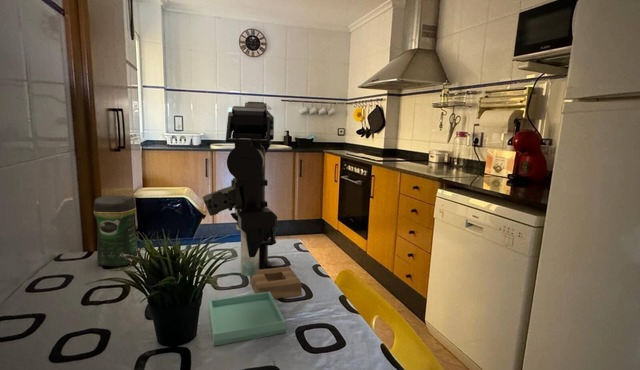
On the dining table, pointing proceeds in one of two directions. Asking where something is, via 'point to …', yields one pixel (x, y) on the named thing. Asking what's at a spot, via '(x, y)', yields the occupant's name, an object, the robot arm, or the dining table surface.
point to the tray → (245, 318)
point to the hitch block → (277, 282)
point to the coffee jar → (115, 229)
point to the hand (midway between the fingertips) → (249, 253)
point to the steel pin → (248, 258)
